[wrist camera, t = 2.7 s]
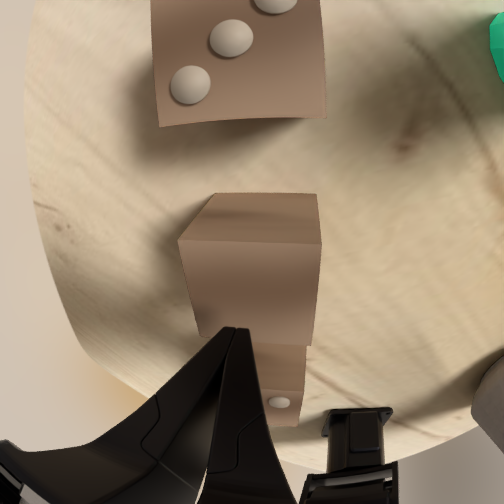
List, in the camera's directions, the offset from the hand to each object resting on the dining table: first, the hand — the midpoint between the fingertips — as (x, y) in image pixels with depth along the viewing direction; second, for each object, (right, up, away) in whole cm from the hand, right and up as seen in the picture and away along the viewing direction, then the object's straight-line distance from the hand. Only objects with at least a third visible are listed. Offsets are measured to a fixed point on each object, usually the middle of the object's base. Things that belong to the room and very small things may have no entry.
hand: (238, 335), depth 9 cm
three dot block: (+1, +11, +1) cm, 11 cm away
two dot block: (+2, -4, +11) cm, 11 cm away
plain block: (+1, +3, +6) cm, 7 cm away
